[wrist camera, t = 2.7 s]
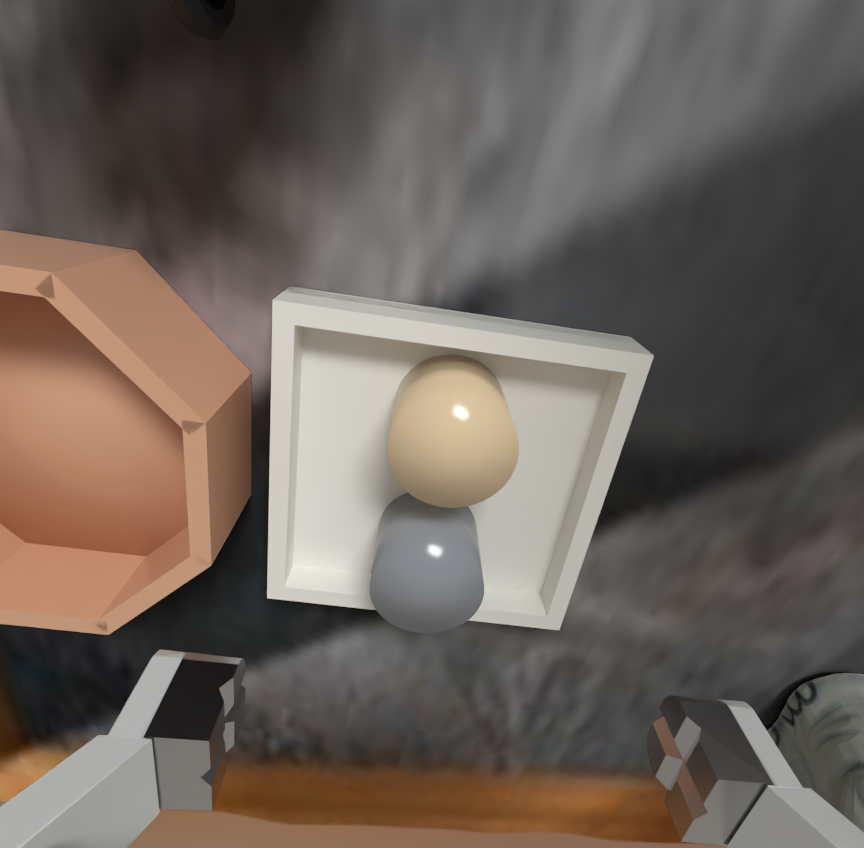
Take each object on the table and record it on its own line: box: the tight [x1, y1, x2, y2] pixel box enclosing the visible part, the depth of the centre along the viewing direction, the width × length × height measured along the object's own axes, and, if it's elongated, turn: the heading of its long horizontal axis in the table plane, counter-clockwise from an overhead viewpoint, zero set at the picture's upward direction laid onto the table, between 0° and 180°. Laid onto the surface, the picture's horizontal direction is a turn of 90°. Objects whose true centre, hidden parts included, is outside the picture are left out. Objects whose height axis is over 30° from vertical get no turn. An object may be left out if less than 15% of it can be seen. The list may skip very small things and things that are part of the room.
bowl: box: [0, 230, 251, 635], centre depth 21 cm, size 15×15×5 cm
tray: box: [267, 286, 654, 630], centre depth 23 cm, size 14×14×2 cm
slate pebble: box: [370, 493, 484, 634], centre depth 23 cm, size 5×5×4 cm
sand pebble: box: [387, 354, 519, 508], centre depth 20 cm, size 5×5×4 cm
